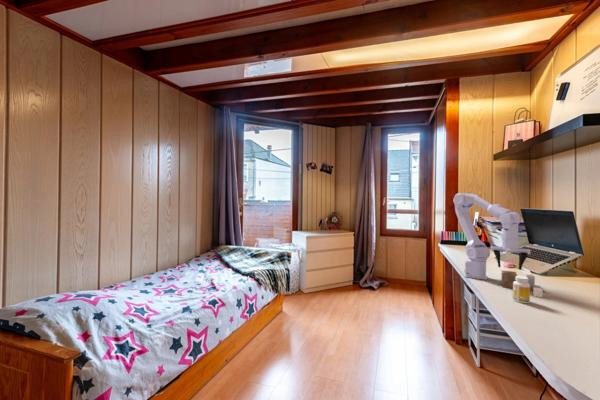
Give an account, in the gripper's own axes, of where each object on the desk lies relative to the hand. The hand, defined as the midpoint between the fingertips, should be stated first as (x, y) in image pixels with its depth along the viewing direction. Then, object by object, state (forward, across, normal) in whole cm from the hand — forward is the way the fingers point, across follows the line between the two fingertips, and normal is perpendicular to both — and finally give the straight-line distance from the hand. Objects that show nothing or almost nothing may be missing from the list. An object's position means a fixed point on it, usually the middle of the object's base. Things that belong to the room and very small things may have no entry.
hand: (509, 267), depth 130 cm
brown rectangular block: (+9, 0, 0) cm, 9 cm away
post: (+9, +8, +2) cm, 12 cm away
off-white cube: (+9, +9, -8) cm, 15 cm away
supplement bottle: (+9, +2, -19) cm, 21 cm away
